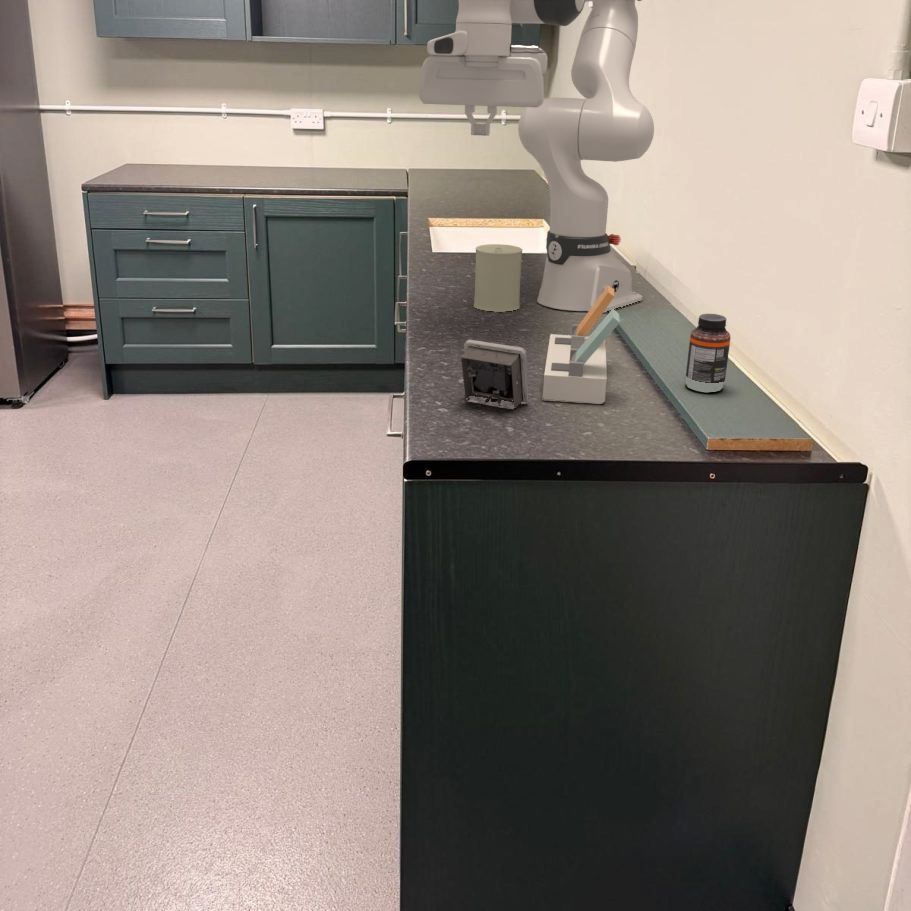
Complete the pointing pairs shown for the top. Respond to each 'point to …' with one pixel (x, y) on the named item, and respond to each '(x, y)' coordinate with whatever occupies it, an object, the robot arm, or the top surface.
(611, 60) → the robot arm
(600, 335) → the rocker teal
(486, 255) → the can
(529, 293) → the top surface
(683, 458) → the top surface
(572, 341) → the white switch base
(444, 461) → the top surface
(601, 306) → the rocker orange
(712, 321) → the supplement bottle
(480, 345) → the electrical switch
